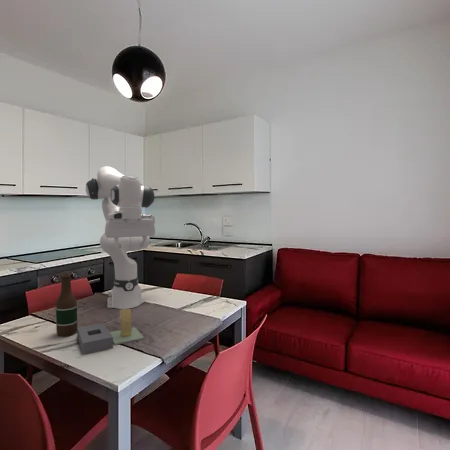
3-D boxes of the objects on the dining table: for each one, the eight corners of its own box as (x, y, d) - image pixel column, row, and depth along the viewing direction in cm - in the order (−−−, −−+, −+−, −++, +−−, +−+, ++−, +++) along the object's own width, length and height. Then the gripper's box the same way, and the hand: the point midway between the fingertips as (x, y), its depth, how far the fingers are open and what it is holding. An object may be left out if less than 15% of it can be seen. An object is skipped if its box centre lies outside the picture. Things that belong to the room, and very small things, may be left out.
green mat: (107, 333, 126) (107, 332, 126) (135, 328, 132) (135, 327, 132) (114, 345, 116) (114, 343, 116) (143, 338, 122) (143, 337, 122)
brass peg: (120, 334, 125) (119, 309, 124) (128, 332, 127) (128, 308, 126) (122, 337, 122) (121, 312, 121) (131, 335, 124) (131, 310, 123)
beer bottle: (63, 338, 121) (62, 277, 120) (52, 334, 126) (50, 275, 124) (81, 332, 128) (80, 273, 127) (70, 328, 132) (69, 271, 131)
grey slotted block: (77, 337, 122) (77, 327, 122) (104, 332, 128) (104, 323, 127) (83, 354, 109) (82, 343, 109) (113, 347, 114) (112, 337, 114)
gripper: (152, 214, 139) (152, 245, 140) (103, 214, 128) (104, 248, 129) (157, 214, 133) (157, 247, 134) (106, 215, 123) (107, 250, 123)
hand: (130, 247), depth 131 cm, fingers open, 8 cm apart
